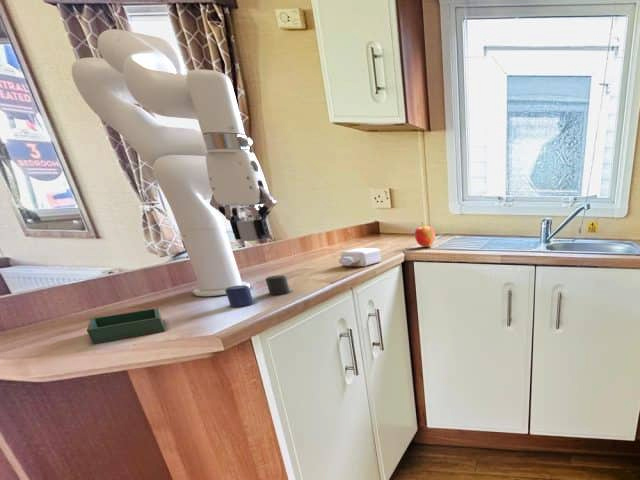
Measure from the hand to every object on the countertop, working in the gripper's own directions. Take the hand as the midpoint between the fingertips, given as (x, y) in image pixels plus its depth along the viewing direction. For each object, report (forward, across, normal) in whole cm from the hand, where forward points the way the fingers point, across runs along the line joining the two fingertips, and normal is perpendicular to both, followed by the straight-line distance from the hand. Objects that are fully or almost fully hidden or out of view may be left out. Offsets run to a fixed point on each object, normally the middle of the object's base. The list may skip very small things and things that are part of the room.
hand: (252, 237), depth 94 cm
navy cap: (+14, +4, +4) cm, 15 cm away
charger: (+15, -3, -45) cm, 47 cm away
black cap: (+14, +2, -7) cm, 16 cm away
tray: (+14, +13, +23) cm, 30 cm away
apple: (+15, -15, -89) cm, 91 cm away
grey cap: (0, 0, 0) cm, 0 cm away
